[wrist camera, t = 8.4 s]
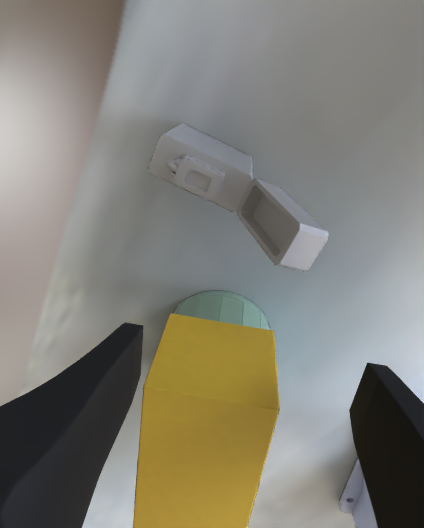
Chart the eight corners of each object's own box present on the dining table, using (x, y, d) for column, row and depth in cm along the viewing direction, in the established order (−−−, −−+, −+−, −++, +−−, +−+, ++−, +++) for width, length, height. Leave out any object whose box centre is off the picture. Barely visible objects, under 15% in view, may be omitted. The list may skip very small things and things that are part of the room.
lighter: (167, 154, 20) (118, 195, 13) (179, 121, 20) (135, 146, 13) (289, 212, 21) (307, 281, 14) (306, 183, 20) (334, 240, 13)
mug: (209, 270, 23) (194, 328, 18) (293, 332, 24) (303, 405, 19) (128, 362, 27) (95, 434, 21) (205, 412, 28) (192, 493, 22)
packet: (238, 481, 22) (233, 577, 17) (153, 466, 22) (130, 557, 18) (274, 330, 17) (280, 410, 13) (169, 312, 17) (142, 386, 13)
